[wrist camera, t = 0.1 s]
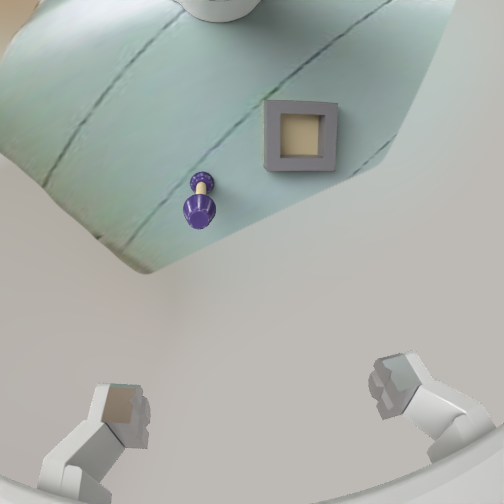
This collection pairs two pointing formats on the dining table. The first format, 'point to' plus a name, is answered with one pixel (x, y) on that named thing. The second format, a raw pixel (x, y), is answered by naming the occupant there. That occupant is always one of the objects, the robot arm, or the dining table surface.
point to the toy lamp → (200, 202)
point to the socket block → (299, 135)
